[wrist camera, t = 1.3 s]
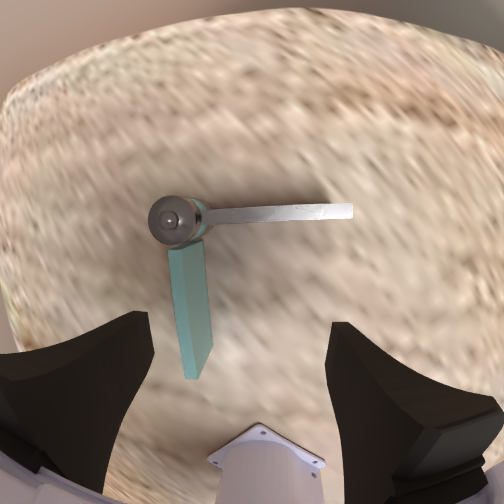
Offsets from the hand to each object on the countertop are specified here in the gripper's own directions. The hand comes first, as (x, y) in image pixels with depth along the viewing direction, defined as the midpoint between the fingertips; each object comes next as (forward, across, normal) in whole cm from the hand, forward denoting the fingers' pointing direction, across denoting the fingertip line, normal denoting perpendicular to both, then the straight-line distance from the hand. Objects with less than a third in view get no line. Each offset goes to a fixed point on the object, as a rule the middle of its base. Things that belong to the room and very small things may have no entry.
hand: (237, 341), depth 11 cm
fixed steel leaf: (+11, 0, -3) cm, 11 cm away
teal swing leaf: (+10, +4, +1) cm, 11 cm away
